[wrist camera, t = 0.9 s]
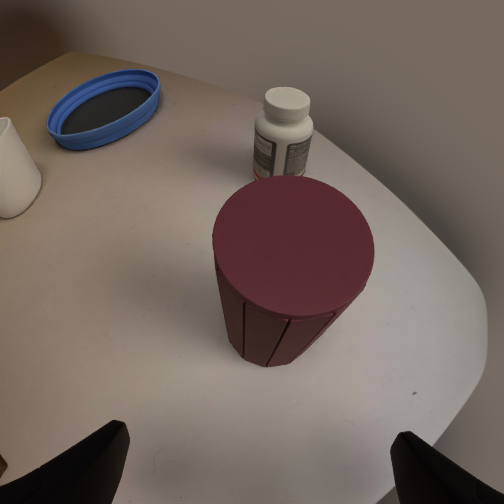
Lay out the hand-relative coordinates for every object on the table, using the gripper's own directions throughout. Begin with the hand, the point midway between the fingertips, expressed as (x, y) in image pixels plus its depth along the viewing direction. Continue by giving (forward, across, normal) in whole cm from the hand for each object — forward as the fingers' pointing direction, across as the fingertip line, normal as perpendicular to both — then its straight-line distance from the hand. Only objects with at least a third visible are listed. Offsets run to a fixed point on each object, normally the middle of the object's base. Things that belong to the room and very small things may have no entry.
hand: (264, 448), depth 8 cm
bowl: (+35, +24, -17) cm, 46 cm away
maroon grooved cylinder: (+15, -1, +3) cm, 16 cm away
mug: (+24, +34, -5) cm, 42 cm away
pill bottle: (+27, -1, -8) cm, 28 cm away
